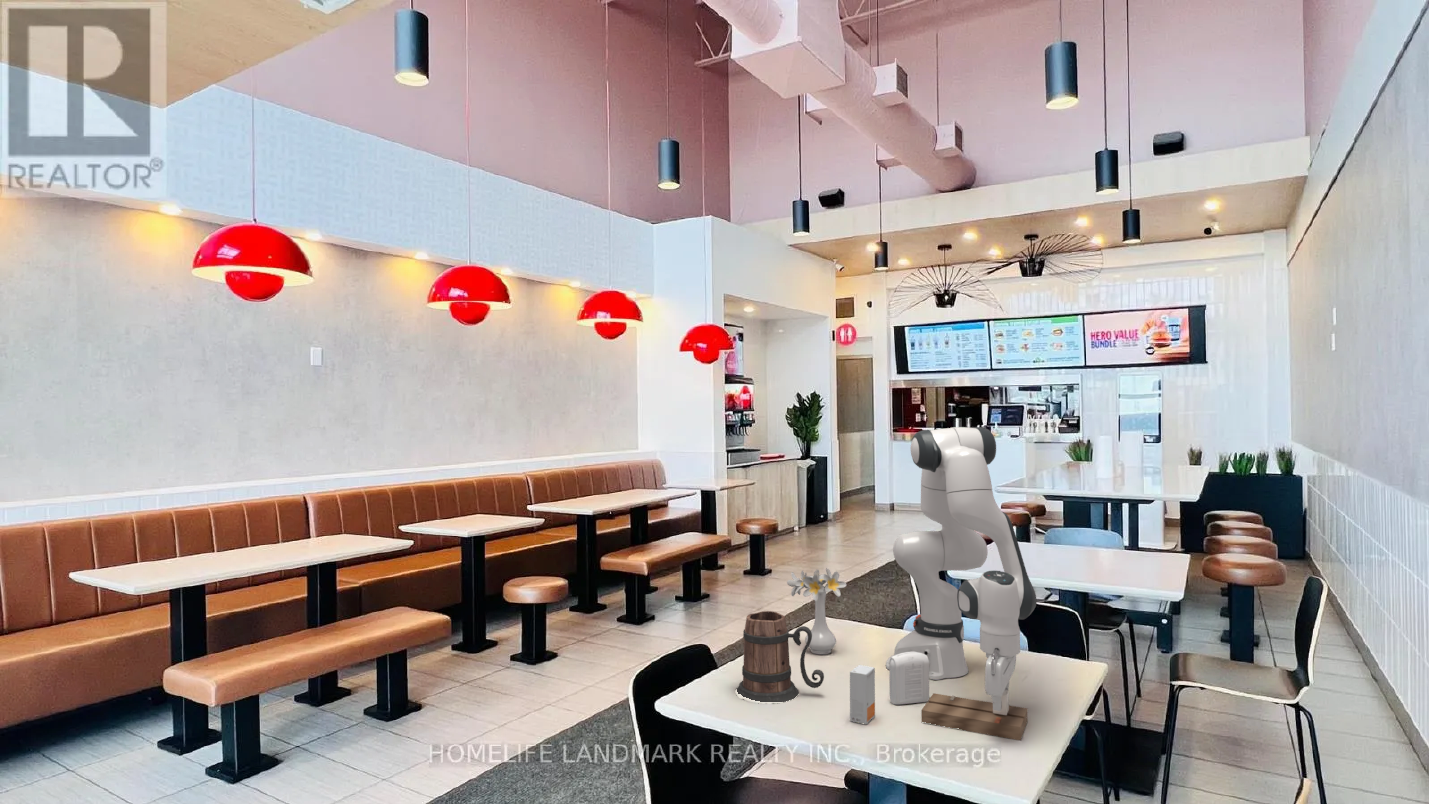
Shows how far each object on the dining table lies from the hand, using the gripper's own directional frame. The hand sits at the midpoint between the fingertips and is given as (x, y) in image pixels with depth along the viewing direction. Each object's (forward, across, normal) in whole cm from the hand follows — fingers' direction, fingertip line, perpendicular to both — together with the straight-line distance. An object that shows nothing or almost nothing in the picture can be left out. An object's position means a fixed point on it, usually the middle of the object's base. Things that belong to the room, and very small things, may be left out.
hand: (1000, 702), depth 185 cm
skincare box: (+6, -10, +30) cm, 32 cm away
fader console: (+6, 0, +6) cm, 8 cm away
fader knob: (+4, 0, 0) cm, 4 cm away
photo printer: (+6, +6, +23) cm, 24 cm away
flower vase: (+6, +33, +58) cm, 67 cm away
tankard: (+6, -3, +55) cm, 55 cm away
